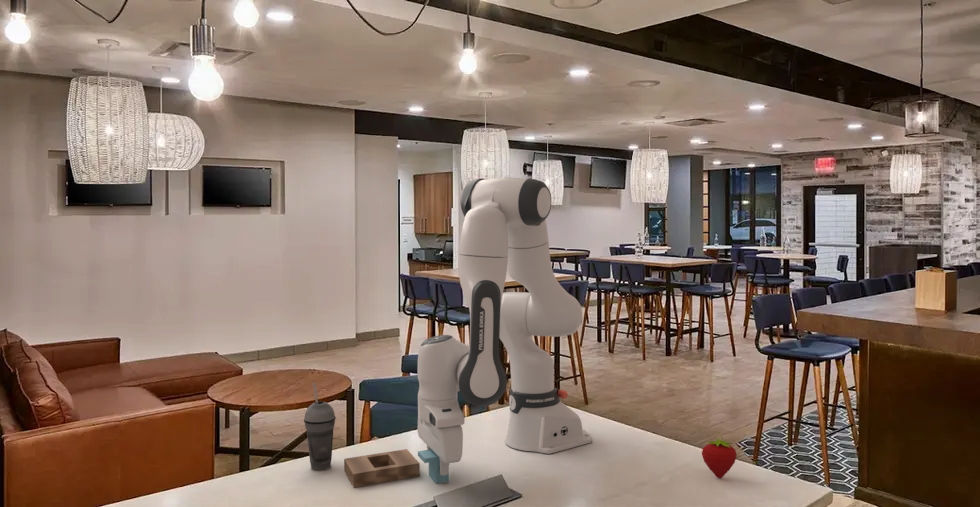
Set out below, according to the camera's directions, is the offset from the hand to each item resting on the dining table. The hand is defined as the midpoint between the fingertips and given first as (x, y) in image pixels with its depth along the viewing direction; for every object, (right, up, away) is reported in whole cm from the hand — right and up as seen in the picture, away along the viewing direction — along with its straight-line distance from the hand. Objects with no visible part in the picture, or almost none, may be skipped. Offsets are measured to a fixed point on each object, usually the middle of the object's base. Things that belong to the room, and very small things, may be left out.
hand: (438, 469), depth 148 cm
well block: (-13, -2, +3) cm, 14 cm away
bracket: (-1, -2, 0) cm, 2 cm away
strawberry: (+63, -2, -1) cm, 63 cm away
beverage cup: (-28, -2, +7) cm, 29 cm away
